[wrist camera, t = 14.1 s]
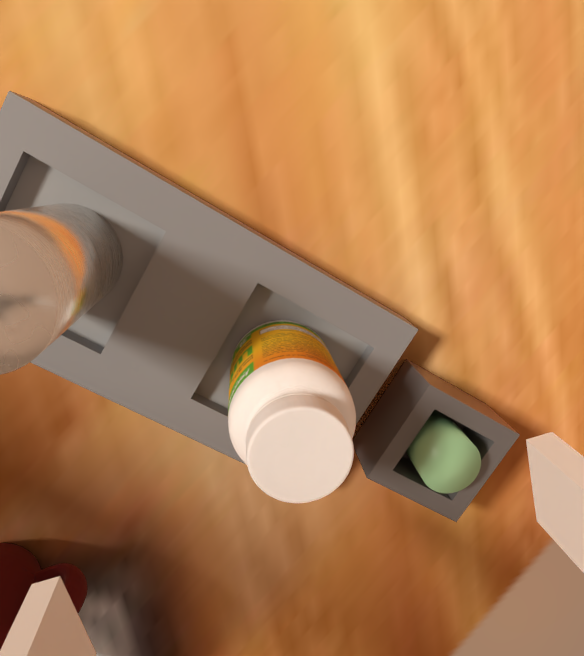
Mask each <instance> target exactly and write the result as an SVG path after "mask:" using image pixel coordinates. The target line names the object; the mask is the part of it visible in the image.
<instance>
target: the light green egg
mask: <svg viewBox="0 0 584 656" xmlns="http://www.w3.org/2000/svg"><path fill="white" fill-rule="evenodd" d="M406 453H407V455H408V456H409V458H410V460H411V461H412V463H413V465H414V466H415V468H416V470H417V471H418V473H419V474H420V476H421V478H422V479H423V481H424V482H425V484H426V485H427V486H428V487H429V488H430V489H432V490H434V491H436V492H439V493H454V492H458V491H460V490H462V489H464V488H466V487H467V486H469V485H470V484H471V483H472V482H473V481H474V480H475V478H476V477H477V475H478V473H479V471H480V467H481V456H480V453H479V451H478V449H477V448H476V446H475V445H474V444H473V443H472V442H471V441H470V440H469V438H468V437H467V436H466V435H465V434H464V433H463V432H462V431H461V429H460V428H459V427H458V426H457V425H456V424H455V423H454V422H453V420H452V419H451V418H450V417H448V416H446V415H445V414H443V413H441V412H439V411H437V410H434V411H433V412H432V414H431V415H430V417H429V418H428V420H427V421H426V423H425V424H424V426H423V427H422V428H421V430H420V431H419V433H418V434H417V436H416V437H415V439H414V440H413V442H412V443H411V444H410V446H409V447H408V449H407V450H406Z"/></svg>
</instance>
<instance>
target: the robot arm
mask: <svg viewBox="0 0 584 656" xmlns="http://www.w3.org/2000/svg"><path fill="white" fill-rule="evenodd" d="M526 444H527V451H528V459H529V466H530V474H531V481H532V489H533V496H534V504H535V511H536V519H537V522H538V523H539V524H540V525H541V526H542V527H543V529H544V530H545V531H546V532H547V533H548V534H549V535H550V536H551V537H552V539H553V540H554V541H555V542H556V543H557V544H558V545H559V546H560V548H561V549H562V550H563V551H564V552H565V553H566V554H567V555H568V556H569V558H570V559H571V560H572V561H573V562H574V563H575V564H576V565H577V566H578V568H579V569H580V570H581V571H582V572H583V573H584V457H583V456H582V455H581V454H579V453H578V452H577V451H576V450H574V449H573V448H572V447H571V446H569V445H568V444H567V443H565V442H564V441H563V440H562V439H560V438H559V437H558V436H557V435H555V434H554V433H553V432H550V433H547V434H543V435H540V436H536V437H533V438H530V439H526ZM0 656H96V651H95V649H94V647H93V645H92V643H91V641H90V639H89V636H88V634H87V632H86V630H85V628H84V626H83V624H82V622H81V620H80V617H79V615H78V613H77V611H76V609H75V607H74V605H73V603H72V600H71V598H70V596H69V594H68V592H67V590H66V588H65V586H64V583H63V581H62V579H61V577H60V576H58V577H55V578H51V579H48V580H44V581H41V582H38V583H34V584H32V585H31V587H30V589H29V591H28V593H27V595H26V597H25V599H24V601H23V603H22V606H21V608H20V610H19V612H18V614H17V616H16V618H15V620H14V622H13V624H12V627H11V629H10V631H9V633H8V635H7V637H6V639H5V641H4V643H3V646H2V648H1V650H0Z"/></svg>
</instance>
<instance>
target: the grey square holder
mask: <svg viewBox="0 0 584 656" xmlns="http://www.w3.org/2000/svg"><path fill="white" fill-rule="evenodd" d="M434 410H437V411H439V412H441V413H443V414H445V415H446V416H448V417H450V418H451V419H452V420H453V422H454V423H455V424H456V425H457V426H458V427H459V428H460V429H461V431H462V432H463V433H464V434H465V435H466V436H467V437H468V438H469V440H470V441H471V442H472V443H473V444H474V445H475V446H476V448H477V449H478V451H479V453H480V456H481V467H480V471H479V473H478V475H477V477H476V478H475V480H474V481H473V482H472V483H471V484H470V485H469V486H467V487H466V488H464V489H462V490H460V491H458V492H454V493H439V492H436V491H434V490H432V489H430V488H429V487H428V486H427V485H426V484H425V482H424V481H423V479H422V478H421V476H420V474H419V473H418V471H417V470H416V468H415V466H414V465H413V463H412V461H411V460H410V458H409V456H408V455H407V453H406V450H407V449H408V447H409V446H410V444H411V443H412V442H413V440H414V439H415V437H416V436H417V434H418V433H419V431H420V430H421V428H422V427H423V426H424V424H425V423H426V421H427V420H428V418H429V417H430V415H431V414H432V412H433V411H434ZM519 436H520V434H519V433H517V432H516V431H515V430H514V429H513V428H512V427H511V426H510V425H509V424H508V423H506V422H505V421H504V420H503V419H502V418H501V417H500V416H499V415H498V414H497V413H496V412H494V411H493V410H492V409H491V408H490V407H489V406H488V405H487V404H485V403H483V402H481V401H480V400H478V399H476V398H474V397H473V396H471V395H469V394H467V393H466V392H464V391H462V390H460V389H458V388H457V387H455V386H453V385H451V384H450V383H448V382H446V381H444V380H443V379H441V378H439V377H437V376H435V375H434V374H432V373H430V372H428V371H427V370H425V369H423V368H421V367H420V366H418V365H416V364H414V363H412V362H411V361H409V360H407V359H406V360H405V362H404V363H403V365H402V366H401V368H400V369H399V371H398V372H397V374H396V375H395V377H394V378H393V380H392V381H391V383H390V384H389V386H388V387H387V389H386V390H385V392H384V393H383V395H382V397H381V398H380V400H379V401H378V403H377V404H376V406H375V407H374V409H373V410H372V412H371V413H370V415H369V416H368V418H367V419H366V421H365V422H364V424H363V425H362V427H361V428H360V430H359V431H358V433H357V434H356V436H355V437H354V439H353V440H352V441H353V445H354V449H355V451H356V454H357V456H358V458H359V461H360V463H361V465H362V468H363V470H364V472H365V474H366V477H367V478H368V479H370V480H372V481H374V482H376V483H378V484H381V485H383V486H385V487H387V488H389V489H391V490H393V491H395V492H397V493H399V494H401V495H403V496H405V497H407V498H409V499H411V500H413V501H415V502H417V503H419V504H421V505H423V506H425V507H427V508H429V509H431V510H433V511H435V512H437V513H439V514H441V515H443V516H445V517H447V518H449V519H451V520H453V521H455V522H457V521H458V519H459V518H460V516H461V515H462V514H463V512H464V511H465V510H466V508H467V507H468V505H469V504H470V503H471V501H472V500H473V499H474V497H475V496H476V495H477V493H478V492H479V490H480V489H481V488H482V486H483V485H484V484H485V482H486V481H487V479H488V478H489V477H490V475H491V474H492V473H493V471H494V470H495V469H496V467H497V466H498V464H499V463H500V462H501V460H502V459H503V458H504V456H505V455H506V453H507V452H508V451H509V449H510V448H511V447H512V445H513V444H514V443H515V441H516V440H517V438H518V437H519Z"/></svg>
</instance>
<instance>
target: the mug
mask: <svg viewBox="0 0 584 656" xmlns="http://www.w3.org/2000/svg"><path fill="white" fill-rule="evenodd" d="M58 576H60V577H61V579H62V581H63V583H64V586H65V588H66V590H67V592H68V594H69V596H70V598H71V600H72V603H73V605H74V607H75V609H76V611H77V613H79V611H80V609H81V607H82V605H83V603H84V600H85V598H86V595H87V581H86V578H85V576H84V574H83V573H82V571H81V570H80V569H79V568H78V567H76V566H74V565H73V564H69V563H61V564H56V565H53V566H50V567H47V568H45V569H43V570H41V568H40V565H39V563H38V561H37V559H36V558H35V557H34V555H33V554H32V553H31V552H29V551H28V550H26V549H25V548H23V547H21V546H18V545H15V544H10V543H0V650H1V648H2V646H3V643H4V641H5V639H6V637H7V635H8V633H9V631H10V629H11V627H12V624H13V622H14V620H15V618H16V616H17V614H18V612H19V610H20V608H21V606H22V603H23V601H24V599H25V597H26V595H27V593H28V591H29V589H30V587H31V585H32V584H34V583H38V582H41V581H44V580H48V579H51V578H55V577H58Z"/></svg>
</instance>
